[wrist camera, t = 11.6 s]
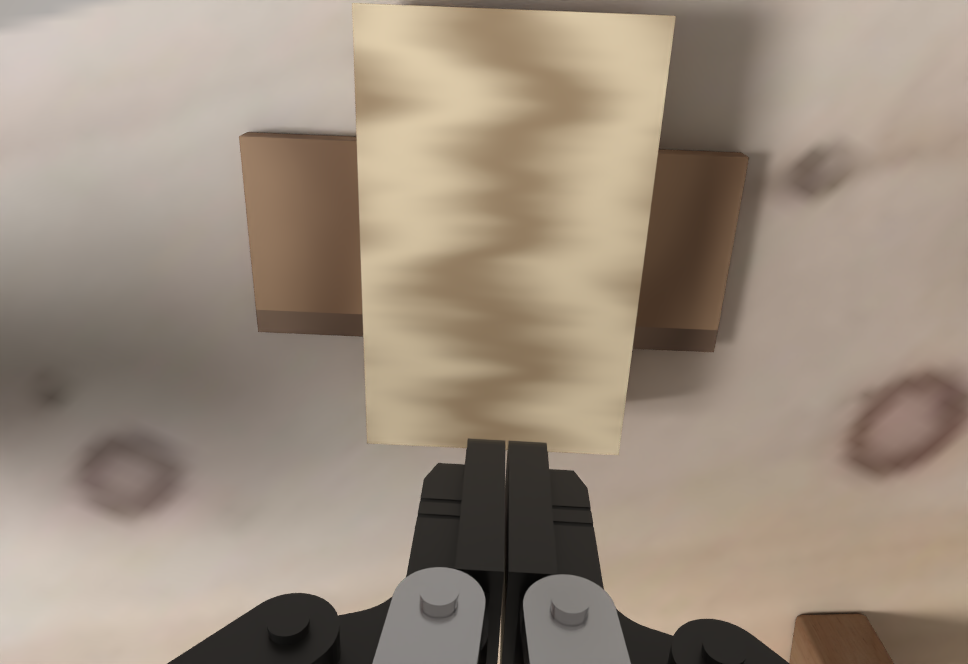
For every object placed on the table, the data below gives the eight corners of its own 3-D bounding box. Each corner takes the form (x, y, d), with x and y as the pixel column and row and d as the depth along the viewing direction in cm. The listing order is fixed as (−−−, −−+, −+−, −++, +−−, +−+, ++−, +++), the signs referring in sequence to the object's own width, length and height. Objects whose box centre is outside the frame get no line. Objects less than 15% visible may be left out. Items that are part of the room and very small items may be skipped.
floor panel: (265, 322, 32) (258, 331, 31) (247, 132, 28) (239, 136, 27) (707, 342, 31) (713, 352, 30) (741, 152, 28) (748, 157, 27)
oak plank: (367, 443, 29) (351, 3, 23) (380, 402, 32) (370, 3, 26) (618, 455, 29) (675, 15, 23) (608, 413, 32) (655, 14, 26)
